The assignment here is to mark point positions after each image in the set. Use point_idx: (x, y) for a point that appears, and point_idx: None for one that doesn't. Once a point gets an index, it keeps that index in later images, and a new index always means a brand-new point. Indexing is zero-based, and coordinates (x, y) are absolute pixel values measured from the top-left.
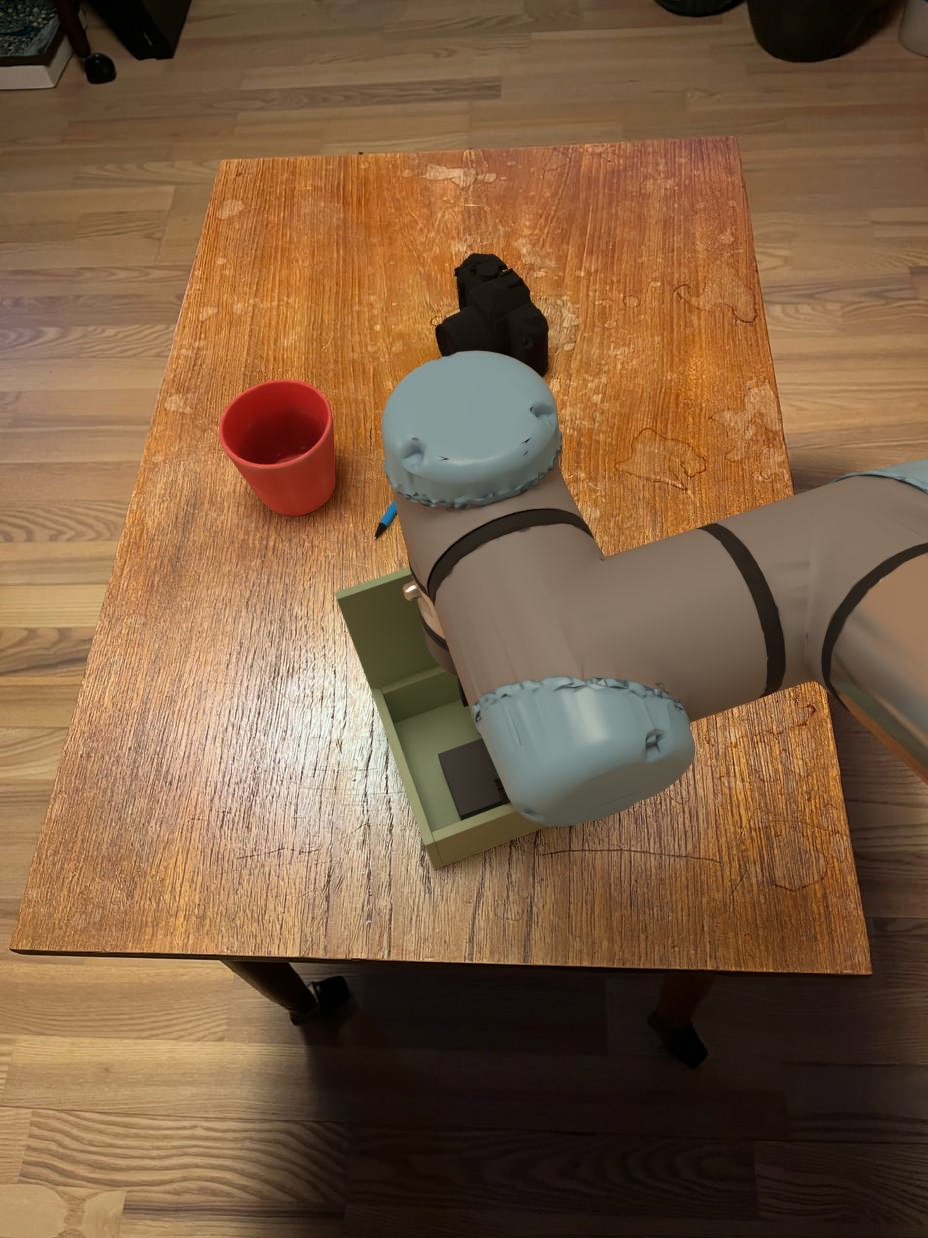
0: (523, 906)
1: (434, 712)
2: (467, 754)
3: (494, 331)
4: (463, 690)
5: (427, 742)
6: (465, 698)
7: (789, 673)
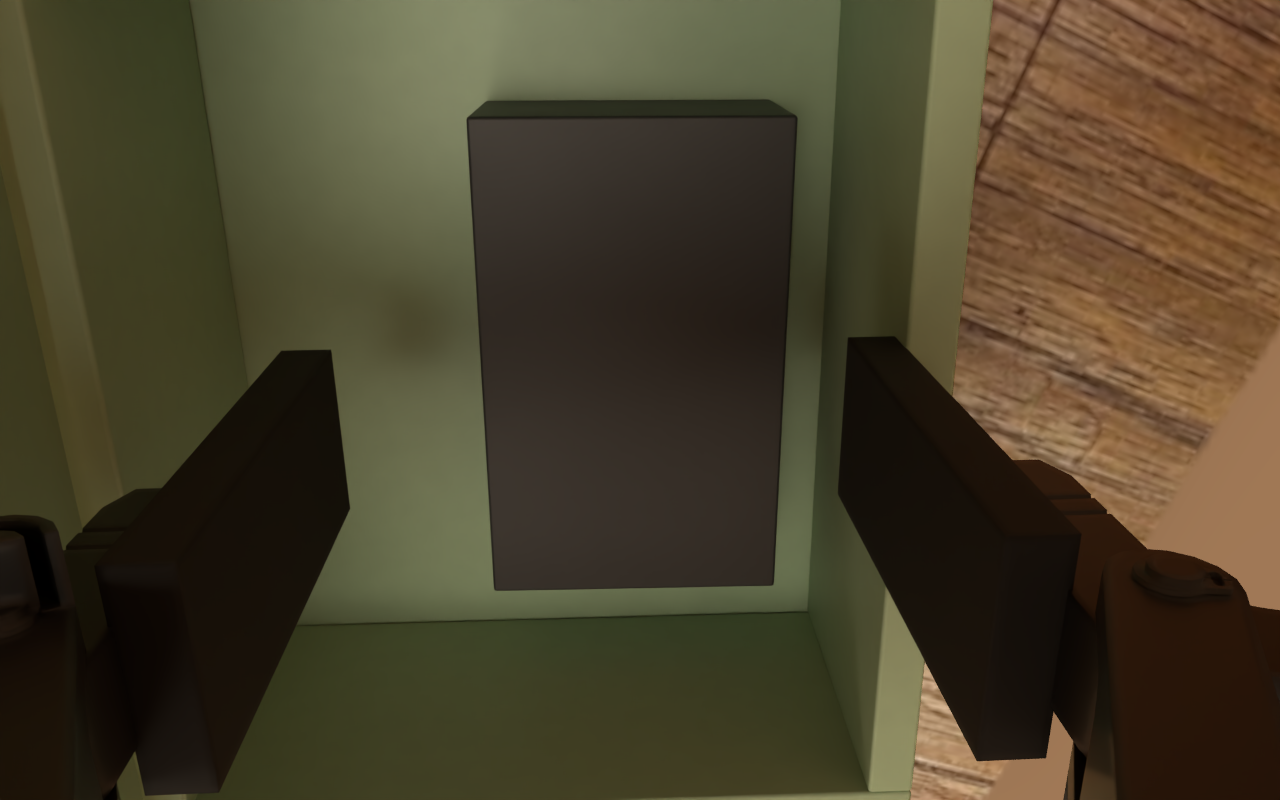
0: (1069, 401)
1: None
2: (537, 489)
3: None
4: (301, 602)
5: (395, 538)
6: (326, 540)
7: None
